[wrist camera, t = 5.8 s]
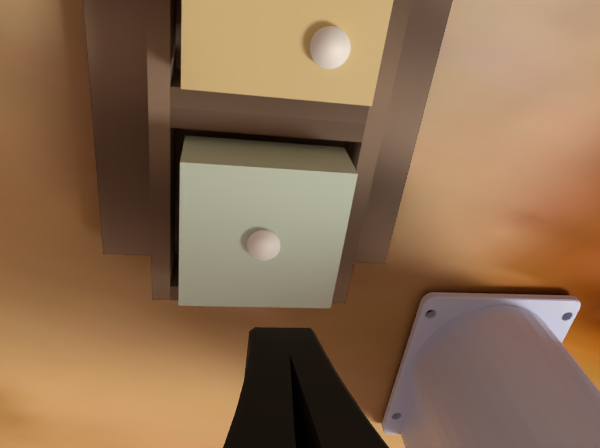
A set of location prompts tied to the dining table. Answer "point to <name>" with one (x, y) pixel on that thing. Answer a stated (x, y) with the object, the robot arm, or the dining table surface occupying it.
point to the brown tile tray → (241, 128)
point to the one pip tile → (261, 222)
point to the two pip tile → (285, 48)
